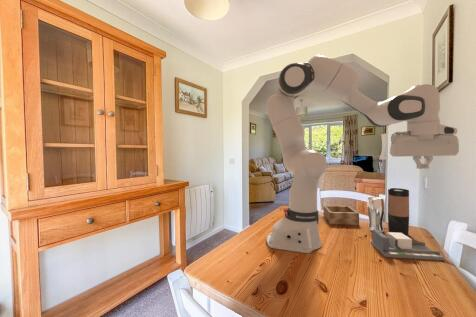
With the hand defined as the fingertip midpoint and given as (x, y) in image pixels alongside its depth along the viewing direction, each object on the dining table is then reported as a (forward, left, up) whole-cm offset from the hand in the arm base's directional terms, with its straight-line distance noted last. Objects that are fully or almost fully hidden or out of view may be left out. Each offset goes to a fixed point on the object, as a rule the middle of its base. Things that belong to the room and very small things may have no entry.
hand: (422, 168), depth 74 cm
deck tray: (-18, +34, -31) cm, 49 cm away
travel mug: (+2, +18, -31) cm, 36 cm away
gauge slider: (-8, -1, -30) cm, 31 cm away
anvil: (-14, 0, -30) cm, 33 cm away
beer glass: (-6, +21, -31) cm, 38 cm away
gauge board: (-6, 0, -31) cm, 32 cm away
